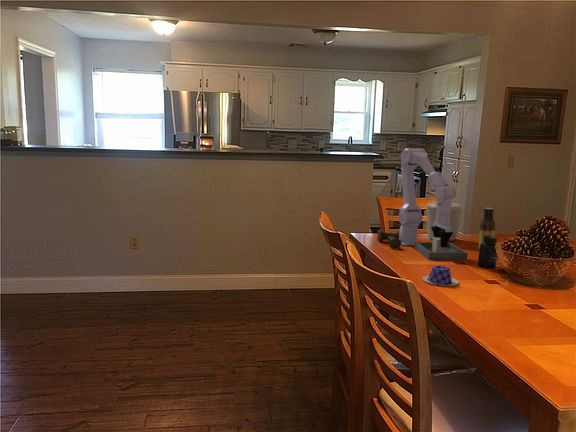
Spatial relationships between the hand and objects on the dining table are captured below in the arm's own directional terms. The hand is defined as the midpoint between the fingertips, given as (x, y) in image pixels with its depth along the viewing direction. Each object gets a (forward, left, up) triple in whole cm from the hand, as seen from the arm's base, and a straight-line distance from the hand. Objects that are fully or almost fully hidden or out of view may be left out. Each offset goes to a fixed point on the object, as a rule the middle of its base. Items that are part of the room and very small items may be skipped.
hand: (440, 245), depth 194 cm
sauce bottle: (-4, +22, -4) cm, 23 cm away
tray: (0, 0, -4) cm, 4 cm away
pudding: (+37, -14, -4) cm, 40 cm away
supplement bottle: (+18, +12, -4) cm, 22 cm away
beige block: (0, 0, -3) cm, 3 cm away
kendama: (-18, -17, -4) cm, 25 cm away
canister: (-29, +12, -4) cm, 32 cm away
